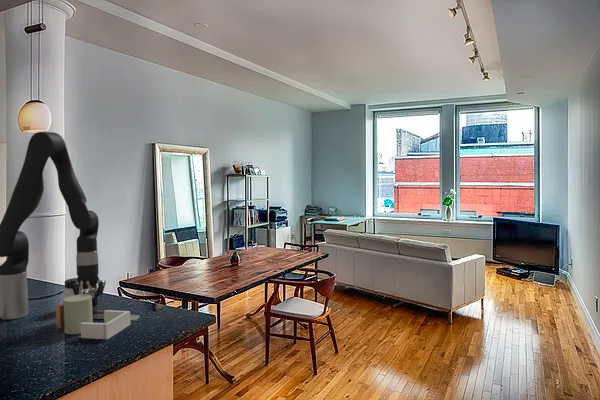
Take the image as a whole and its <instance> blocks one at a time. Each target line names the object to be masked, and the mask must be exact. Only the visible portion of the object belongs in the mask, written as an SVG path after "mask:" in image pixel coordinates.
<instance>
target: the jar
mask: <svg viewBox="0 0 600 400" xmlns="http://www.w3.org/2000/svg"><path fill="white" fill-rule="evenodd" d="M77 278H78V277H73V278H68V279H66V280H65V281H64V287H63V299H64V298H66V297H69V296H73V295H74V292H73V289H72V286H71V283H70V282H71V281H72V280H75V279H77ZM79 287H80V284H79ZM87 292H89V289H87V290H86V293H87Z"/></svg>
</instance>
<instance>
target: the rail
mask: <svg viewBox="0 0 600 400" xmlns="http://www.w3.org/2000/svg"><path fill="white" fill-rule="evenodd" d="M95 319H97V320H104V315H100V314H92V320H95ZM138 319H140V314H130V321H132V322H135V321H137V320H138Z"/></svg>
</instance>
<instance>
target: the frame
mask: <svg viewBox="0 0 600 400" xmlns="http://www.w3.org/2000/svg"><path fill="white" fill-rule="evenodd" d="M130 315H131V311H130V310H115V309H114V310H112V309H110V310H109V309H105V311H104V319H103V320H104V322H93V323H88V322H82V323H81V333H80V338H81V339H92V340H93V339H95V340H109V339H110V338H112V337H113V336H115V335H117V334H118V333H120V332H121V331H123V330H124V329H126V328H127V327H129V326H130V325H131V320H130Z"/></svg>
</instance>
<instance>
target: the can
mask: <svg viewBox="0 0 600 400" xmlns="http://www.w3.org/2000/svg"><path fill="white" fill-rule="evenodd" d="M62 303H64V323H65V327H64V330H63V332H64V333H65V334H67V335H79V334H80V335H81V323H82V322H88V323H94V321H93V320H94V319H92V296H91V295H88V294H81V295H73V296H69V297H66V298H64V297H63V299H62Z"/></svg>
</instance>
